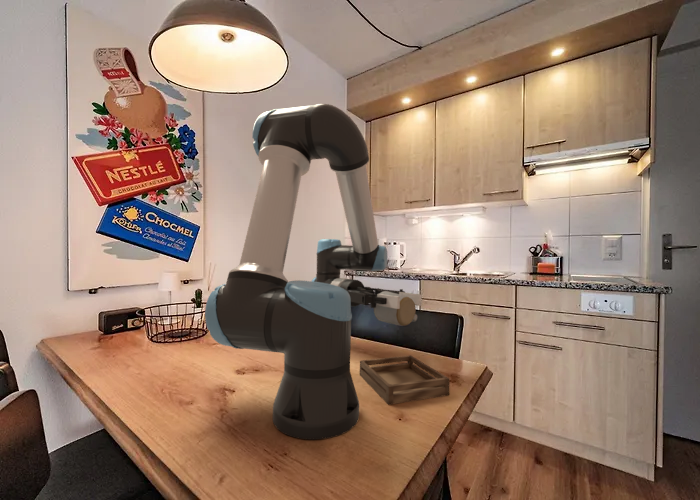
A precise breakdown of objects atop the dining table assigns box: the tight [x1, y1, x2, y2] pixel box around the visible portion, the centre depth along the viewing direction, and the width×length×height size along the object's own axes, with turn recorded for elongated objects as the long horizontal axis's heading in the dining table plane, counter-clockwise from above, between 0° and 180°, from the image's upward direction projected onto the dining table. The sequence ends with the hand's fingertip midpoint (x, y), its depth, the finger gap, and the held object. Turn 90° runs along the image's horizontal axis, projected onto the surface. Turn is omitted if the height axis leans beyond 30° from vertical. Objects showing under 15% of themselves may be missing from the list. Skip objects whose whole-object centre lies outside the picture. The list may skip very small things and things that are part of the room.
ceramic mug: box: [373, 291, 418, 327], centre depth 78 cm, size 11×8×8 cm
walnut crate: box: [359, 355, 450, 405], centre depth 69 cm, size 14×15×3 cm
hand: (409, 301), depth 73 cm, fingers closed on ceramic mug, 7 cm apart
